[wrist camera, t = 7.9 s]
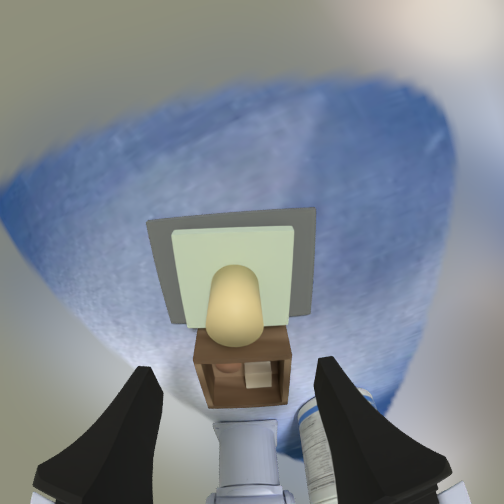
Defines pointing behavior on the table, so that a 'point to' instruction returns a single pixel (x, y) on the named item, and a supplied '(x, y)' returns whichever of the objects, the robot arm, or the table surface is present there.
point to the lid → (235, 279)
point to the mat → (295, 217)
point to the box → (244, 370)
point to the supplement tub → (319, 453)
